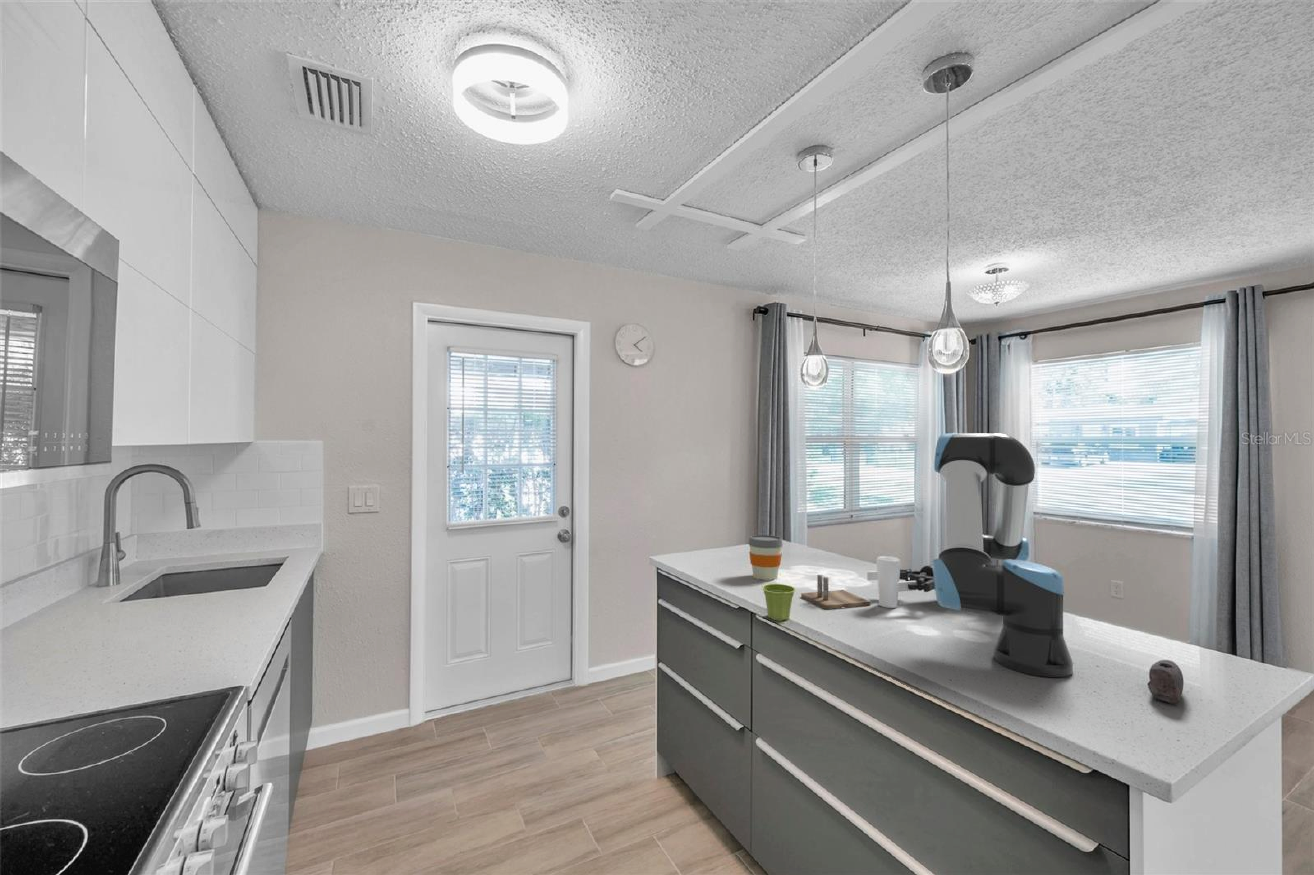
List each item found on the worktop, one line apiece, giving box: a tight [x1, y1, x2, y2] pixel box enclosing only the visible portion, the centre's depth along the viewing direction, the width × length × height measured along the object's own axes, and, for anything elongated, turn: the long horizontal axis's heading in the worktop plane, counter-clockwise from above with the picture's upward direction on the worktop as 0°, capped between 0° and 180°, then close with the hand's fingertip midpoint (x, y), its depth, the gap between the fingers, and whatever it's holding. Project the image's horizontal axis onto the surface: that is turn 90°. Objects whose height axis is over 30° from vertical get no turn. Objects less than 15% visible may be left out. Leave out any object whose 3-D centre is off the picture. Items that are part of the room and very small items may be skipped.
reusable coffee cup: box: [748, 534, 783, 581], centre depth 207 cm, size 13×13×15 cm
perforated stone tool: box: [1147, 659, 1184, 704], centre depth 113 cm, size 15×5×7 cm, turn 132°
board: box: [800, 574, 871, 610], centre depth 177 cm, size 16×14×8 cm
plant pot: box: [761, 583, 796, 622], centre depth 160 cm, size 9×9×9 cm
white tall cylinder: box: [876, 555, 901, 609], centre depth 172 cm, size 7×7×15 cm
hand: (882, 581), depth 171 cm, fingers open, 13 cm apart
